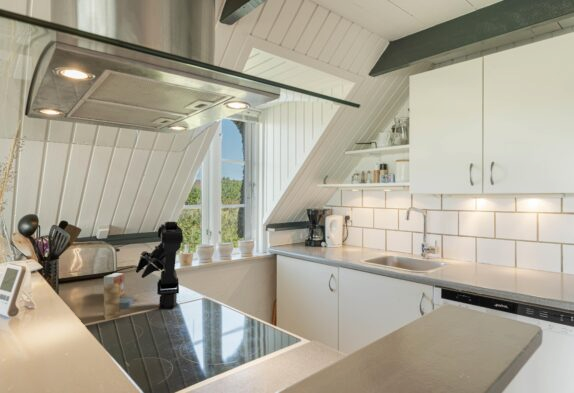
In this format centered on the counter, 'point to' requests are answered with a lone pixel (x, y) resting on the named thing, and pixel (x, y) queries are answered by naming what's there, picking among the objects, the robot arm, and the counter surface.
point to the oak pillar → (111, 301)
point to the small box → (115, 281)
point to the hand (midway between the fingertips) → (139, 274)
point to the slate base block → (125, 302)
